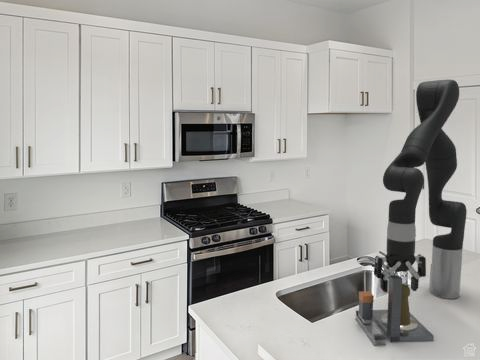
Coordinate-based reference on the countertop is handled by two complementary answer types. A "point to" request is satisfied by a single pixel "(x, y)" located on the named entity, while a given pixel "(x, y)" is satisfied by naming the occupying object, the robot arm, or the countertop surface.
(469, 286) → the countertop surface
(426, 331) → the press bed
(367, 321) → the lever
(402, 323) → the cork
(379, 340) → the lever rail
